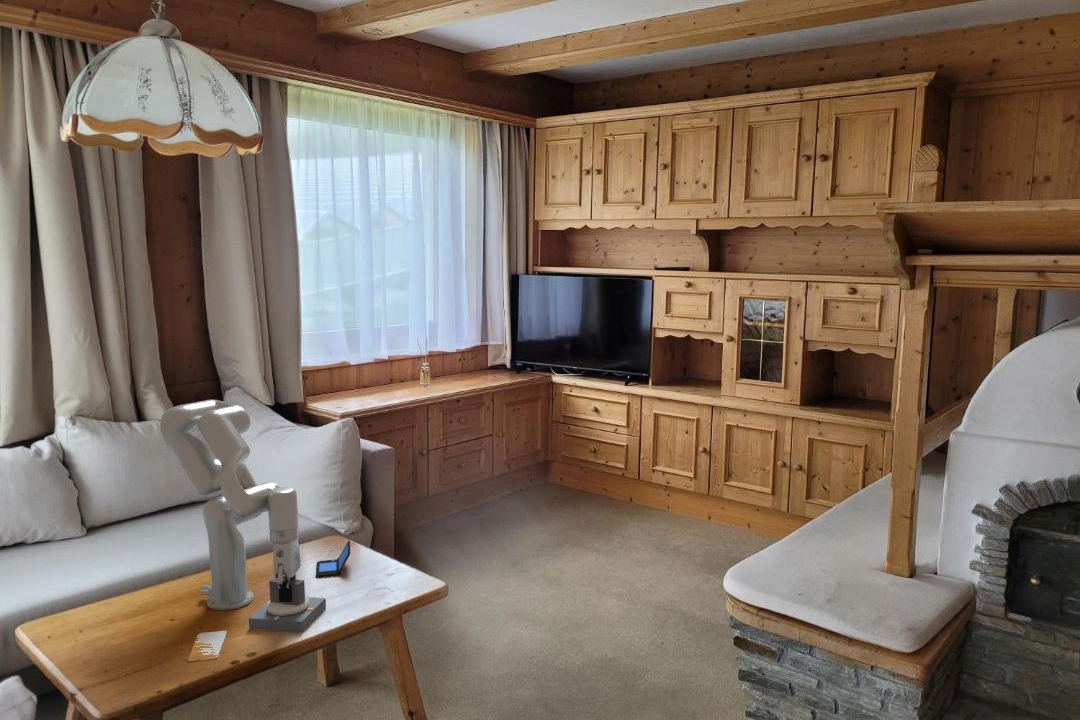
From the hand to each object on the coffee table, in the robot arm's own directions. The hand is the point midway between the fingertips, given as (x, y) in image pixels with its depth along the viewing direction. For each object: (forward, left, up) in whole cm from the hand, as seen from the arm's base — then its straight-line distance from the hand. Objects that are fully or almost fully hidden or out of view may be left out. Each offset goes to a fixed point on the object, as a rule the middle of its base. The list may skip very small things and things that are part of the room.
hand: (288, 597), depth 220 cm
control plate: (0, 0, -6) cm, 6 cm away
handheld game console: (-3, +35, -7) cm, 36 cm away
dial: (0, 0, -3) cm, 3 cm away
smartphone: (-13, -18, -7) cm, 23 cm away
